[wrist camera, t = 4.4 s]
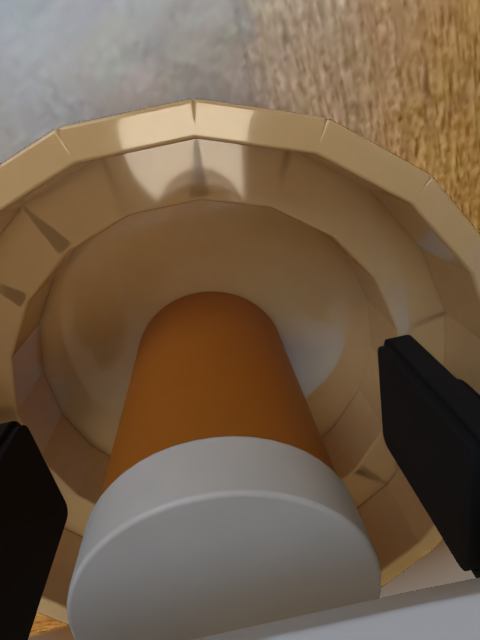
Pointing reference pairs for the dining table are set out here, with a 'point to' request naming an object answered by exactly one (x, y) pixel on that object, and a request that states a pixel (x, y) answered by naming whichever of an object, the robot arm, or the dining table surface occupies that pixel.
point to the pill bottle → (216, 491)
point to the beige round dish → (226, 285)
